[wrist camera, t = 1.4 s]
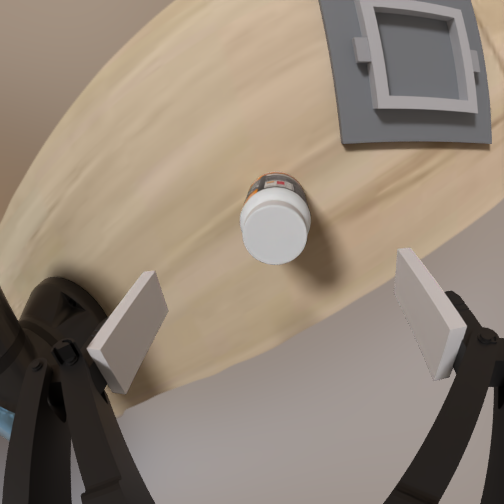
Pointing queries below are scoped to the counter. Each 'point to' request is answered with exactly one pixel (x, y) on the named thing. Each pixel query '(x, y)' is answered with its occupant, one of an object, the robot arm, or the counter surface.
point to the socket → (407, 70)
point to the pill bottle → (275, 219)
